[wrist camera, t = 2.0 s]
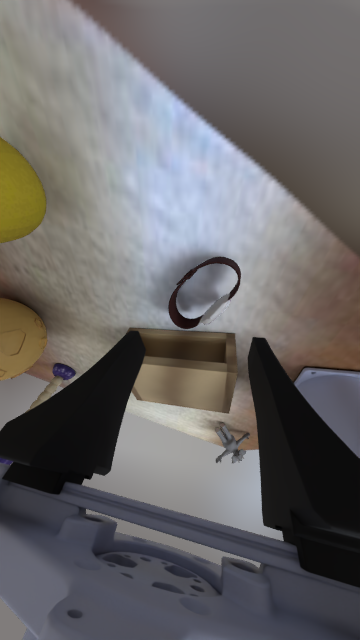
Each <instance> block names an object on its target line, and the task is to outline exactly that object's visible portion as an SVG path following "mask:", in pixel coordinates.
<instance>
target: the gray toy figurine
mask: <svg viewBox="0 0 360 640" xmlns="http://www.w3.org/2000/svg"><path fill="white" fill-rule="evenodd" d="M220 426H221V428H222V429H223V431H224V432H225V433H224V432H223V431H222V429H221V431H220V430H219V428H215V432H216V433H217V434H218V436H219V437H220V439H221V440H222V443H223V446H224V447H225V448H226V450H225V451H224V452H223V453H222V455H220V456H218V458H217V459H216V463H218V462H219V461H220V462H221V459H222V457H223V456H226V455H228V454H230V453H232V452H233V453H234V455H233V457H232V463H235V462H236V461H237V460H238V462H239V461H242V458H243V455H244V454H245V453H246V451H244V450H243V449H241V450H239V451H238V446H239V445H240V444H241V442H242V441H243V440H244V439H245V438H247V439H249V438H248V436H249V435H250V434H249V433H246V434H244V436H243V437H242V438H240V439H239V440H238V441H236V440H235V438H234V436H233V435H231V434H230V433H229V431H228V430H227V428H226V426H225V424H224V423H221V424H220ZM221 432H222V433H223V434H222V433H221ZM223 435H224V436H223Z"/></svg>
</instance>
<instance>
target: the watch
mask: <svg viewBox="0 0 360 640" xmlns="http://www.w3.org/2000/svg"><path fill="white" fill-rule="evenodd" d="M214 263H219V264H225V265H228V266H230V267H232V268H233V269H234V270H235V271H236V273H237V275H238V281H237V284H236V285H235V287H234V288H233V290H232V291H231V292H230V293H229V294H226V295H224V296H222V297H221V298H220V299H218V300H217V301H216V302H215V303H214V304H213V305H212V306H211V307H210V308H209V309H208V310H207V311H206V312H205V314H204V315H202V316H200V317H198V318H195V319H188V318H185V317H183V316H182V315H181V314H180V313H179V311H178V309H177V306H176V297H177V293H178V291H179V289H180V287H181V286H182V285H183V284H184V282H185V281H186V280H188V279H190V278H191V277H192V276H193V275H194V273H195V272H196V271H197V269H199V268H201V267H203V266H206V265H208V264H214ZM187 276H188V277H187ZM184 279H185V280H184ZM240 279H241V271H240V268H239V266H238V265H237V263H235V262H234V261H233V260H231V259H229V258H226V257H215V258H211V259H209V260H206V261H205V262H203V263H201V264H199V265H198V266H196V267H195V268H194V269H191V270H190V271H189V272H188V273H187V274H186V275H185V276H184V277H183V278H182V279H181V280H180V281H179V282H178V283H177V285H178V284H180V283H181V284H180V285H179V286H178V287H177V288H176V289H175V291H174V292H173V294H172V295H171V298H170V301H169V307H168V308H169V315H170V318H171V320H172V321H173V323H174V324H175V325H177V326H178V327H180V328H183V329H190V328H193V327H196V326H197V325H199V324H200V323H203V324H204V325H207V324H210V323H211V322H212V321H214V320H215V319H216V318H217V317H218V316H219V315H220V314H221V313H222V312H223V311H224V310H225V309H226V308H227V307H228V305H229V303H230V301H231V298H232V297H233V296H234V295H235V294H236V292H237V290H238V288H239V285H240Z"/></svg>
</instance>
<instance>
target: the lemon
mask: <svg viewBox="0 0 360 640" xmlns="http://www.w3.org/2000/svg"><path fill="white" fill-rule="evenodd" d="M45 212H46V197H45V192H44V189H43V186H42V184H41V181H40V180H39V178H38V176H37V174H36V172H35V171H34V170H33V168H32V167H31V165H30V164H29V163H28V161H27V160H26V159H25V158H24V157H23V156H22V155H21V154H20V153H19V152H18V151H17V150H16V149H15V148H14V147H13V146H11V145H10V144H9V143H7V142H6V141H5V140H4V139H2V138H1V137H0V243H4V242H8V241H12V240H16V239H19V238H22V237H24V236H26V235H28V234H30V233H31V232H32V231H33V230H35V229H36V228H37V227H38V226H39V225H40V224H41V222H42V220H43V218H44V215H45Z"/></svg>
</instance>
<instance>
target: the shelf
mask: <svg viewBox="0 0 360 640" xmlns="http://www.w3.org/2000/svg"><path fill="white" fill-rule="evenodd" d="M130 330H133V331H139V333H140V336H141V338H142V341H143V343H144V346H145V348H146V352H145V356H144V360H143V363H142V366H141V369H140V371H139V374H138V376H137V379H136V381H135V384H134V386H133V388H132V393H133V394H134V396H135V397H136V399H137V400H141V401H148V402H155V403H161V404H168V405H175V406H182V407H188V408H195V409H202V410H208V411H215V412H222V413H228V414H229V411H230V407H231V402H232V397H233V393H234V388H235V384H236V379H237V374H238V371H237V356H236V340H235V334H231V333H213V332H195V331H176V330H158V329H140V328H129V329H128V331H127V333H128V332H129V331H130ZM127 333H126V334H127Z"/></svg>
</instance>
